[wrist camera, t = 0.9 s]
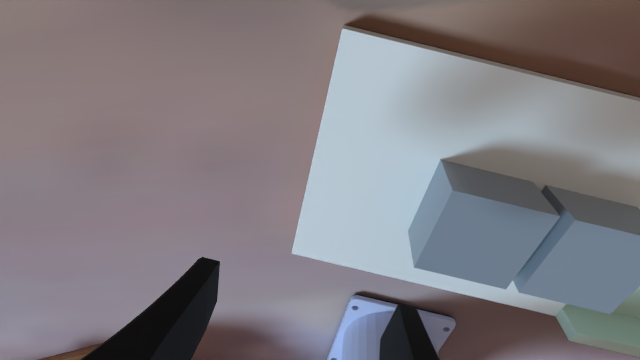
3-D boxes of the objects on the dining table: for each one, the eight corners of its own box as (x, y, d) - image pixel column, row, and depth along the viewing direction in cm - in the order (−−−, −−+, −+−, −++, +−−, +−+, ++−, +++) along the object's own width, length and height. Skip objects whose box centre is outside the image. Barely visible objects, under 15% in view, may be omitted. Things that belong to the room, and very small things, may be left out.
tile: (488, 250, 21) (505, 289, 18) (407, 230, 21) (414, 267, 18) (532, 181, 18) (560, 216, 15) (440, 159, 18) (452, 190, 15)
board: (547, 301, 24) (555, 316, 23) (294, 241, 24) (291, 253, 23) (708, 114, 16) (731, 123, 15) (343, 24, 16) (342, 28, 15)
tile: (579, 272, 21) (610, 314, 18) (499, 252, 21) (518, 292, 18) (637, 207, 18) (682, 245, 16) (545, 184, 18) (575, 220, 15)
